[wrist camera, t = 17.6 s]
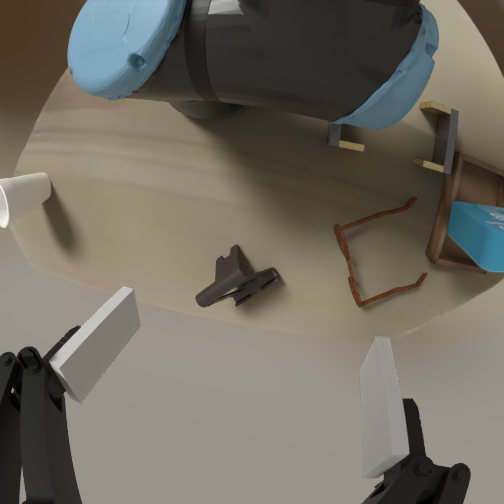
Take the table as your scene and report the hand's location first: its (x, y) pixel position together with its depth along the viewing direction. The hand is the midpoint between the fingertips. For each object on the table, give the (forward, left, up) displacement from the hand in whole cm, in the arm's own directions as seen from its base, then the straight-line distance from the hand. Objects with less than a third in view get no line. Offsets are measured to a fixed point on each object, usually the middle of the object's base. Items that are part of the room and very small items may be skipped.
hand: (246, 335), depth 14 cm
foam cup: (+1, -52, -27) cm, 59 cm away
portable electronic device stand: (+12, -6, -27) cm, 30 cm away
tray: (-4, +28, -27) cm, 39 cm away
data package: (-4, +28, -24) cm, 37 cm away
